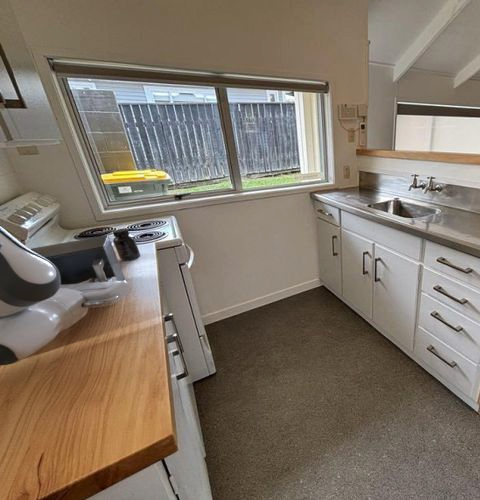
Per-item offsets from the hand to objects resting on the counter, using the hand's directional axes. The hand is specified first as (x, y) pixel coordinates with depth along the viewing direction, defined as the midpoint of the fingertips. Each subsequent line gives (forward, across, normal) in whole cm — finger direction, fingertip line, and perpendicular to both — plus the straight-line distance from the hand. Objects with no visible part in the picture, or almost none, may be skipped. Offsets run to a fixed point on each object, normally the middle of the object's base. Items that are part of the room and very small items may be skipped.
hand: (104, 279), depth 80 cm
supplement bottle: (+36, +18, +8) cm, 41 cm away
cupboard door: (-2, +8, +8) cm, 11 cm away
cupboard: (+7, +13, +8) cm, 17 cm away
